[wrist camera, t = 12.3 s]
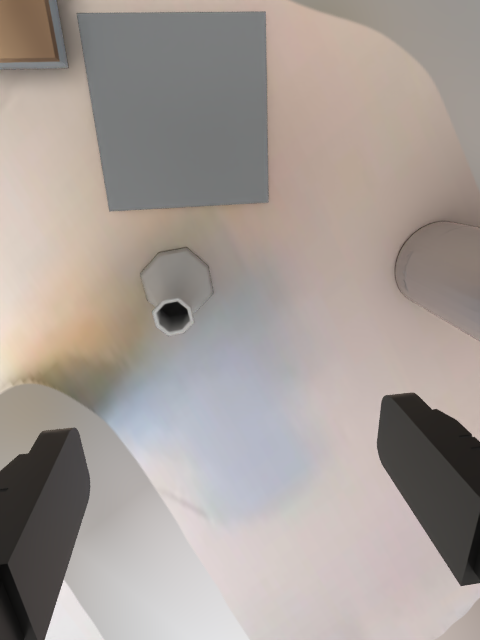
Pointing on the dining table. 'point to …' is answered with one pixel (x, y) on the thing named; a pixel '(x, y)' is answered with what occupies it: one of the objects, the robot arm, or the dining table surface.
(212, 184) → the rubber mat
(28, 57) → the walnut lid
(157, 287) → the flask
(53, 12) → the blue storage bin
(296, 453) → the dining table surface
